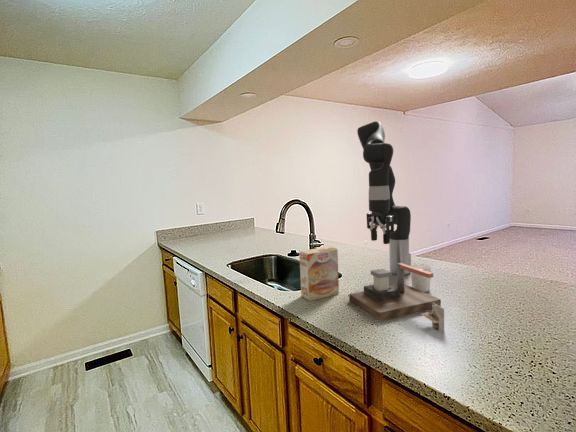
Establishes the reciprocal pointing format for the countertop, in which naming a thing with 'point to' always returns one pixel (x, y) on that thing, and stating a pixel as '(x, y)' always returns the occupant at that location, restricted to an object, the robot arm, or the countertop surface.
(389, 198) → the robot arm
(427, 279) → the white cup
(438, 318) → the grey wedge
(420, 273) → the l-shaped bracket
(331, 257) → the coffeecake box
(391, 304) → the socket board
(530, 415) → the countertop surface
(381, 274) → the plug
